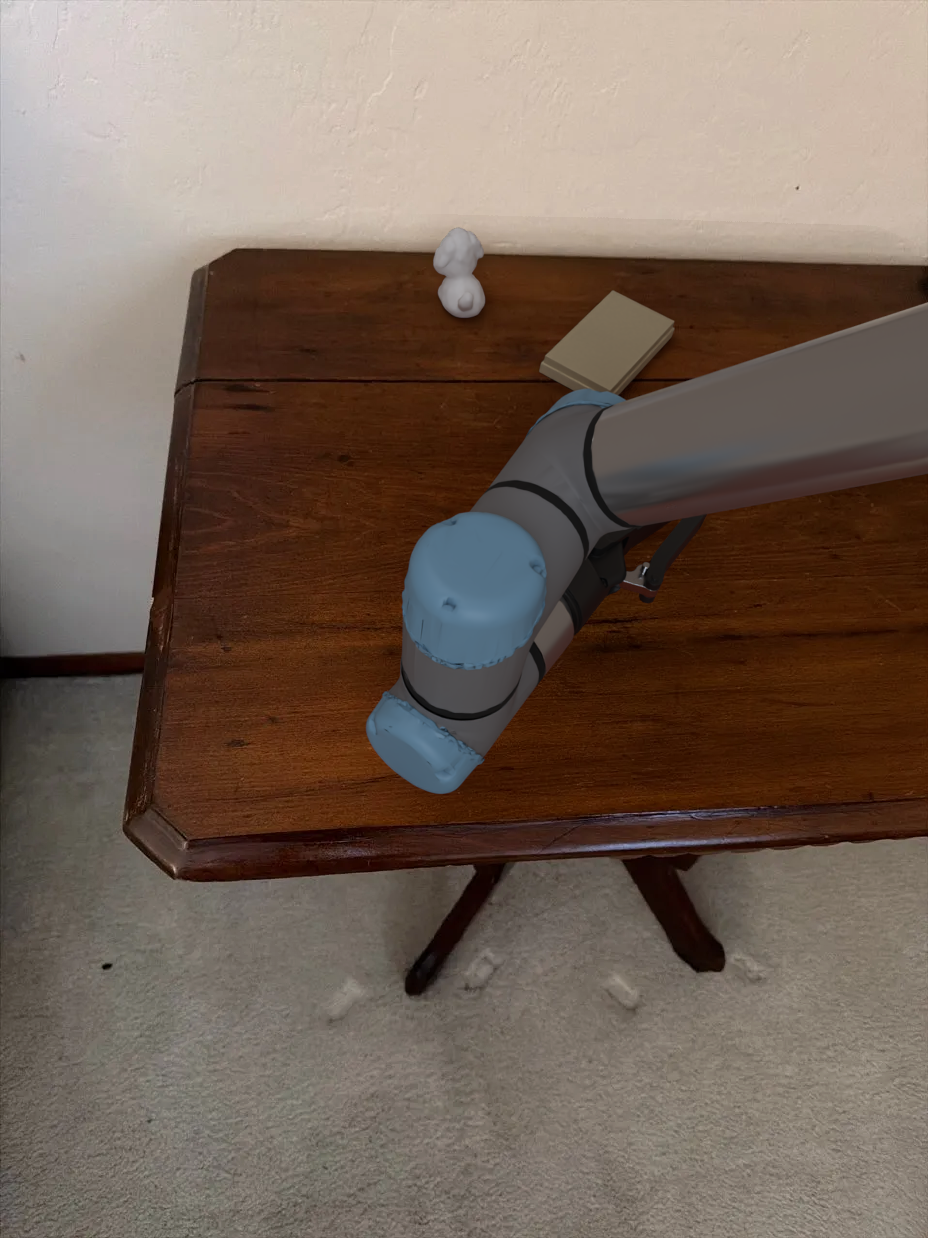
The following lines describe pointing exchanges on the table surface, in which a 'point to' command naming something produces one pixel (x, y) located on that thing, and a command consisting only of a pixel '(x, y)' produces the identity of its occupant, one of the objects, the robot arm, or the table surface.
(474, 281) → the figurine
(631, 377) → the beige stepped flat slab
